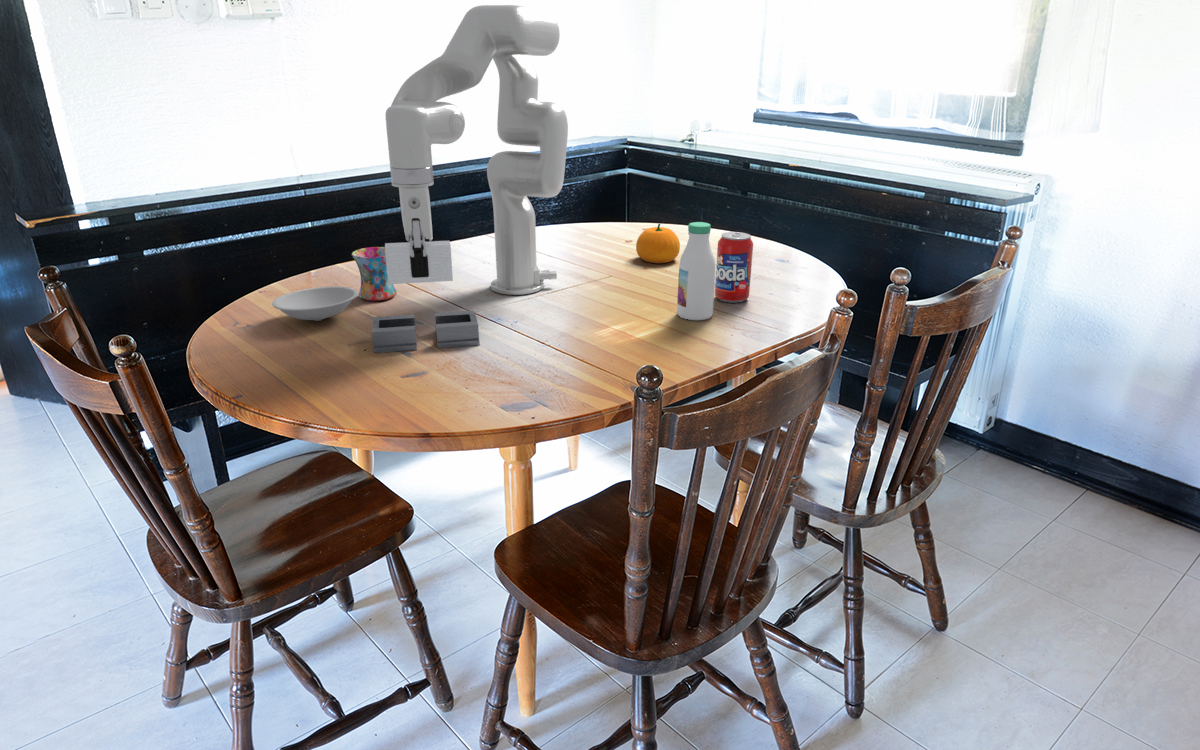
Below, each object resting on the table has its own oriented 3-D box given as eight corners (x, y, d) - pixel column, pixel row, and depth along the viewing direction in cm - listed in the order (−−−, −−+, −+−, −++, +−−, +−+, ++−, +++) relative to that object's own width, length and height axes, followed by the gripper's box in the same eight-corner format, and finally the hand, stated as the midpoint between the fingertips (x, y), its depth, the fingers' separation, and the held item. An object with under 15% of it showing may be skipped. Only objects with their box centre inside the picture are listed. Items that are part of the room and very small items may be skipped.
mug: (366, 306, 177) (361, 259, 172) (351, 295, 183) (345, 250, 179) (416, 296, 183) (412, 251, 179) (399, 286, 190) (395, 243, 186)
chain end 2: (475, 327, 164) (474, 309, 162) (479, 345, 155) (478, 325, 153) (436, 330, 162) (434, 312, 161) (438, 348, 153) (436, 328, 152)
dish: (292, 338, 158) (288, 315, 156) (264, 320, 168) (260, 298, 166) (373, 319, 169) (370, 296, 167) (342, 303, 178) (340, 281, 176)
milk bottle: (715, 312, 174) (721, 221, 166) (708, 323, 167) (714, 229, 159) (681, 308, 176) (685, 218, 168) (672, 319, 170) (676, 226, 162)
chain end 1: (416, 332, 161) (414, 313, 160) (416, 349, 153) (415, 330, 151) (375, 335, 160) (373, 316, 158) (373, 353, 151) (371, 333, 149)
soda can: (752, 296, 184) (758, 233, 178) (743, 306, 177) (748, 240, 171) (720, 292, 187) (724, 229, 181) (709, 301, 180) (713, 236, 174)
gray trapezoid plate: (451, 275, 155) (449, 240, 153) (452, 280, 152) (450, 244, 149) (388, 278, 153) (385, 242, 150) (388, 284, 149) (384, 247, 147)
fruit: (687, 258, 215) (688, 222, 211) (666, 268, 206) (667, 230, 202) (649, 252, 220) (650, 216, 216) (627, 262, 211) (628, 224, 207)
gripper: (434, 183, 138) (441, 285, 145) (431, 169, 153) (438, 262, 160) (390, 184, 136) (399, 287, 144) (391, 170, 151) (400, 263, 158)
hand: (420, 273), depth 152 cm, fingers closed on gray trapezoid plate, 3 cm apart
